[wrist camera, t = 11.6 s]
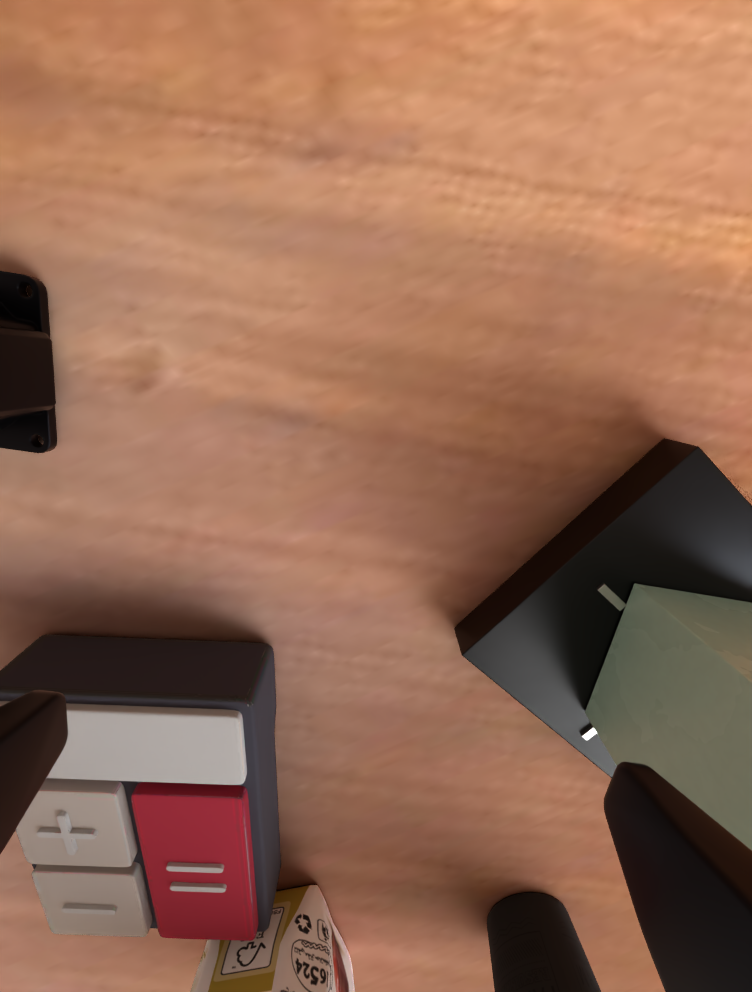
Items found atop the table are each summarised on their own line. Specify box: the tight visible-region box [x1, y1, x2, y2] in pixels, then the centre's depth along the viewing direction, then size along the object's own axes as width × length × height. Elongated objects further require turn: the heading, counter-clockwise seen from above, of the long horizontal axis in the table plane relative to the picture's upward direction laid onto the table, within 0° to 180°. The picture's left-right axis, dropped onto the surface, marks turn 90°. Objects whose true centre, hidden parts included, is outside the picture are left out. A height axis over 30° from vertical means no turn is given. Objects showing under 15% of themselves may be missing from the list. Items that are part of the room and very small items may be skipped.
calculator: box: [0, 635, 281, 941], centre depth 21 cm, size 11×4×15 cm
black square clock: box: [454, 438, 752, 778], centre depth 19 cm, size 14×12×2 cm
